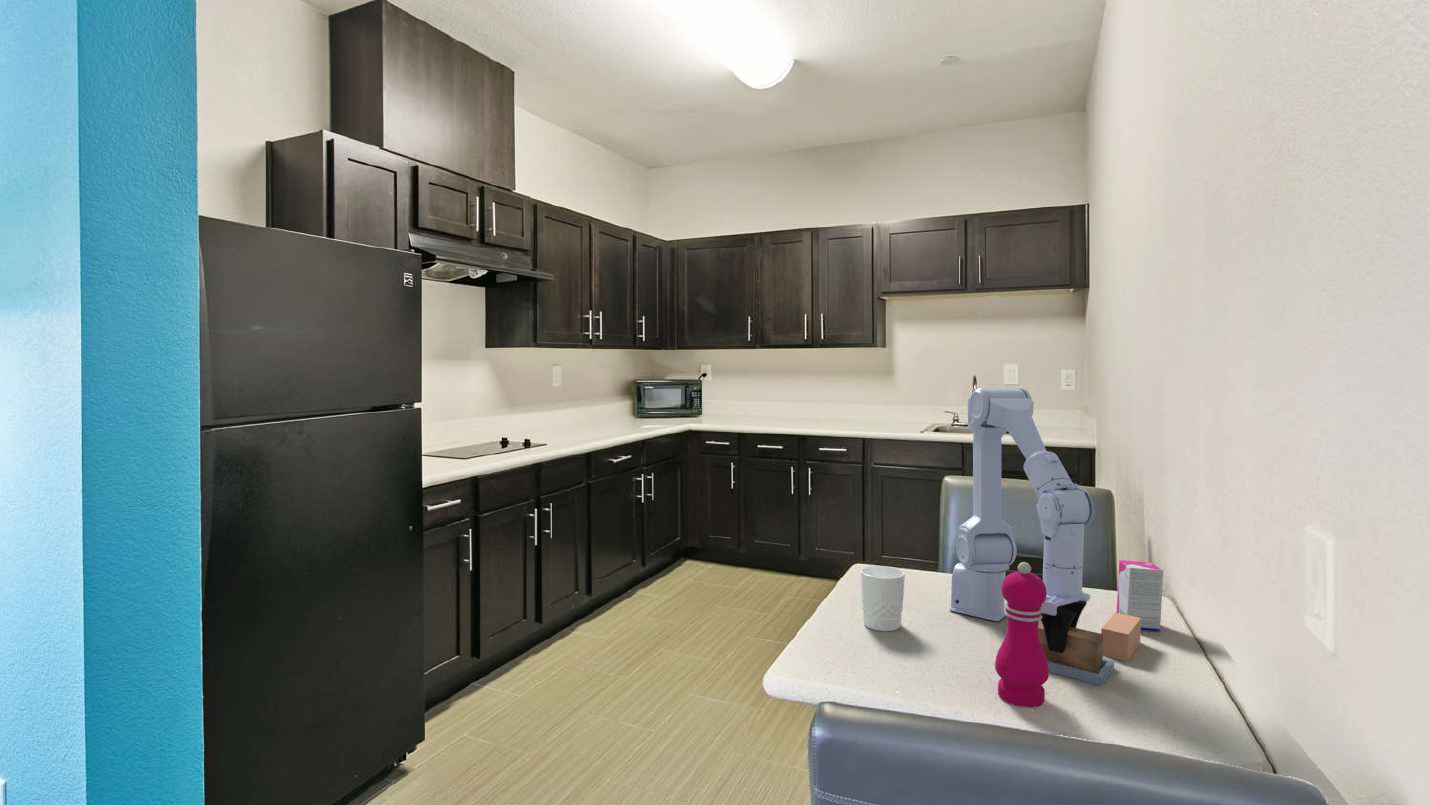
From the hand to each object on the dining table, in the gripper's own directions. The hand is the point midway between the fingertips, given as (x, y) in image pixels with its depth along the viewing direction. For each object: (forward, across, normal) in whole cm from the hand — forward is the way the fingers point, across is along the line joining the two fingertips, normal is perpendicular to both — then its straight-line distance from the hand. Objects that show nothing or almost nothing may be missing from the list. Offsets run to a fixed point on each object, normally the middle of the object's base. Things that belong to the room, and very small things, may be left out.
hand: (1060, 646), depth 116 cm
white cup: (+3, -3, +30) cm, 30 cm away
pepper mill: (+3, -16, +1) cm, 16 cm away
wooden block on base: (+2, 0, 0) cm, 2 cm away
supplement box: (+3, +28, -6) cm, 29 cm away
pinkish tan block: (+3, +14, -6) cm, 15 cm away
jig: (+3, 0, 0) cm, 3 cm away
